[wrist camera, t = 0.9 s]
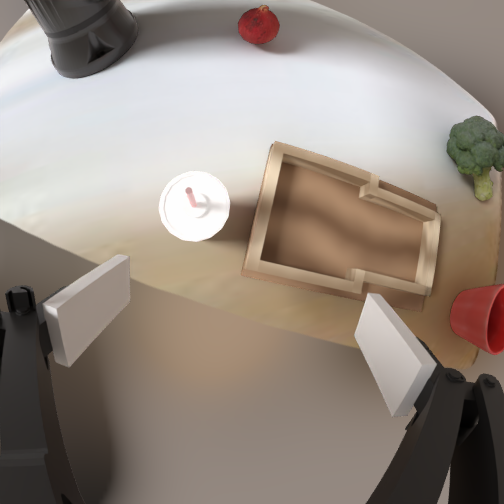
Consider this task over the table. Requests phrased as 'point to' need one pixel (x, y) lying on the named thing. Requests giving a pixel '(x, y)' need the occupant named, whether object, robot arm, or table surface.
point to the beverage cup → (194, 206)
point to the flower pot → (480, 317)
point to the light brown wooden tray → (341, 231)
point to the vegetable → (477, 152)
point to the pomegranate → (258, 25)
